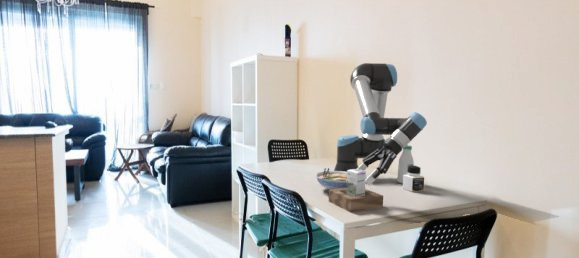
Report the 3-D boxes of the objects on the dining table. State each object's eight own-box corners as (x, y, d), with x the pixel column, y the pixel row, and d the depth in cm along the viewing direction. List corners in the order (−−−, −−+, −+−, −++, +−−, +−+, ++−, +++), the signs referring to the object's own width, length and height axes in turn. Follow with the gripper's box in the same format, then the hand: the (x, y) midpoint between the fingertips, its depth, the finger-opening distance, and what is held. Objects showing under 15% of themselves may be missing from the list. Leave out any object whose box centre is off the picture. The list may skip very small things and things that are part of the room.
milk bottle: (401, 184, 188) (403, 146, 186) (394, 180, 196) (397, 144, 194) (415, 184, 189) (417, 146, 187) (408, 180, 197) (410, 144, 195)
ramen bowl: (362, 199, 158) (363, 181, 157) (310, 195, 163) (311, 177, 162) (362, 186, 182) (363, 170, 182) (317, 183, 187) (318, 167, 186)
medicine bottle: (412, 192, 173) (413, 167, 172) (402, 188, 179) (403, 165, 178) (423, 191, 175) (425, 166, 174) (413, 187, 182) (415, 164, 181)
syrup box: (365, 205, 150) (366, 170, 148) (355, 207, 146) (356, 172, 145) (354, 201, 154) (356, 168, 153) (345, 203, 151) (346, 169, 149)
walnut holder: (328, 201, 154) (329, 189, 153) (359, 197, 161) (359, 186, 160) (350, 212, 140) (350, 199, 139) (382, 207, 146) (383, 195, 146)
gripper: (416, 154, 139) (378, 193, 137) (388, 145, 163) (355, 178, 162) (404, 140, 137) (366, 180, 136) (377, 133, 162) (344, 166, 161)
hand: (360, 179), depth 149 cm, fingers open, 13 cm apart
